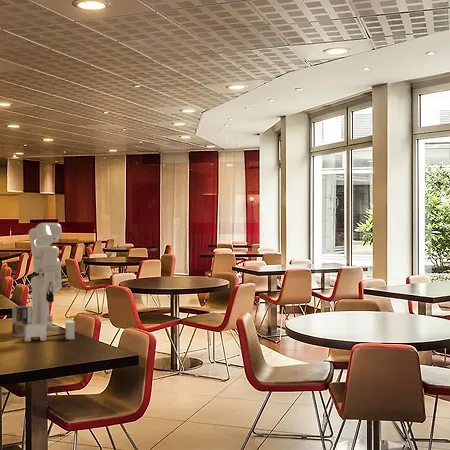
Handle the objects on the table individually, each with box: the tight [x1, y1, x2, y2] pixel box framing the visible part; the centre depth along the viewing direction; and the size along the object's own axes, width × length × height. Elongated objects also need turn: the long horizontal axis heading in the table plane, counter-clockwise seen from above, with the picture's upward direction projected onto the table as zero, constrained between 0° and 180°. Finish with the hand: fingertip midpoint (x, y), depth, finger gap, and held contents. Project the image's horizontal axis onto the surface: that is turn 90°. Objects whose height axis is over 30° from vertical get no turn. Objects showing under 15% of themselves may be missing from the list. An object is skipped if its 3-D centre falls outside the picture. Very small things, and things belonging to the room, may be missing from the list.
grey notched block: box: [24, 324, 48, 342], centre depth 354 cm, size 8×11×8 cm
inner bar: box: [47, 314, 61, 335], centre depth 355 cm, size 4×17×10 cm, turn 108°
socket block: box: [65, 320, 76, 340], centre depth 360 cm, size 8×4×9 cm, turn 18°
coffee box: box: [11, 305, 32, 338], centre depth 367 cm, size 9×6×16 cm
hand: (49, 301), depth 356 cm, fingers open, 9 cm apart
